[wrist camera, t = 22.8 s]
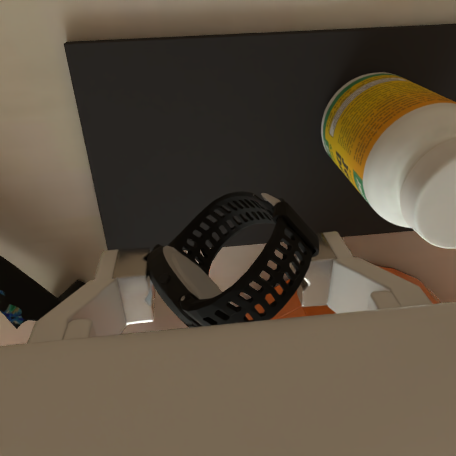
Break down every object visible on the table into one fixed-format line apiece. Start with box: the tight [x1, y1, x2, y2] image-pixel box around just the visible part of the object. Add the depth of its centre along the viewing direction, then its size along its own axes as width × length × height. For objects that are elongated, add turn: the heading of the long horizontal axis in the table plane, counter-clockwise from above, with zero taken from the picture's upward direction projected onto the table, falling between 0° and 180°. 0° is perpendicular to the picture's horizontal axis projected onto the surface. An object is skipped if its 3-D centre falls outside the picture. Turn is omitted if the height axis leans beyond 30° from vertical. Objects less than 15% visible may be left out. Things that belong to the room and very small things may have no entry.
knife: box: [0, 256, 86, 329], centre depth 24 cm, size 31×3×4 cm, turn 39°
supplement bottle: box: [321, 72, 456, 249], centre depth 19 cm, size 5×5×10 cm
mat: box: [64, 24, 456, 252], centre depth 24 cm, size 20×12×1 cm, turn 92°
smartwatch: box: [147, 191, 319, 328], centre depth 13 cm, size 4×5×5 cm
